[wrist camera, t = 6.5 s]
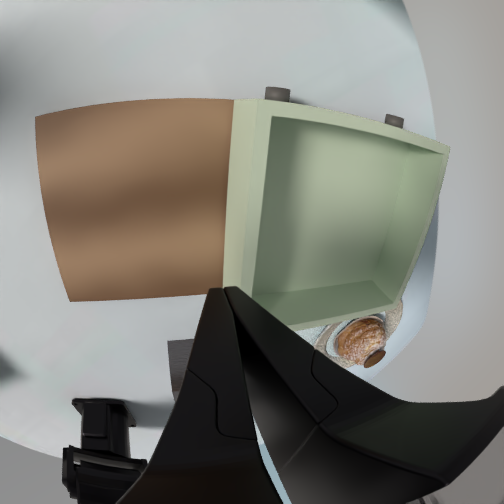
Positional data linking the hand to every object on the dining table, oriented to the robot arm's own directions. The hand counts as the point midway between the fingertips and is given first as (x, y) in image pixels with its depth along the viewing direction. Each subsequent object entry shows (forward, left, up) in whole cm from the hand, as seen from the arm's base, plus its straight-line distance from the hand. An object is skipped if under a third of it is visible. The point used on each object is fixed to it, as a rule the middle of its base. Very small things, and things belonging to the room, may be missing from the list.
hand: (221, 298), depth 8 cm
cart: (0, -8, -8) cm, 11 cm away
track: (0, -3, -9) cm, 9 cm away
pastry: (-15, -17, -10) cm, 25 cm away
